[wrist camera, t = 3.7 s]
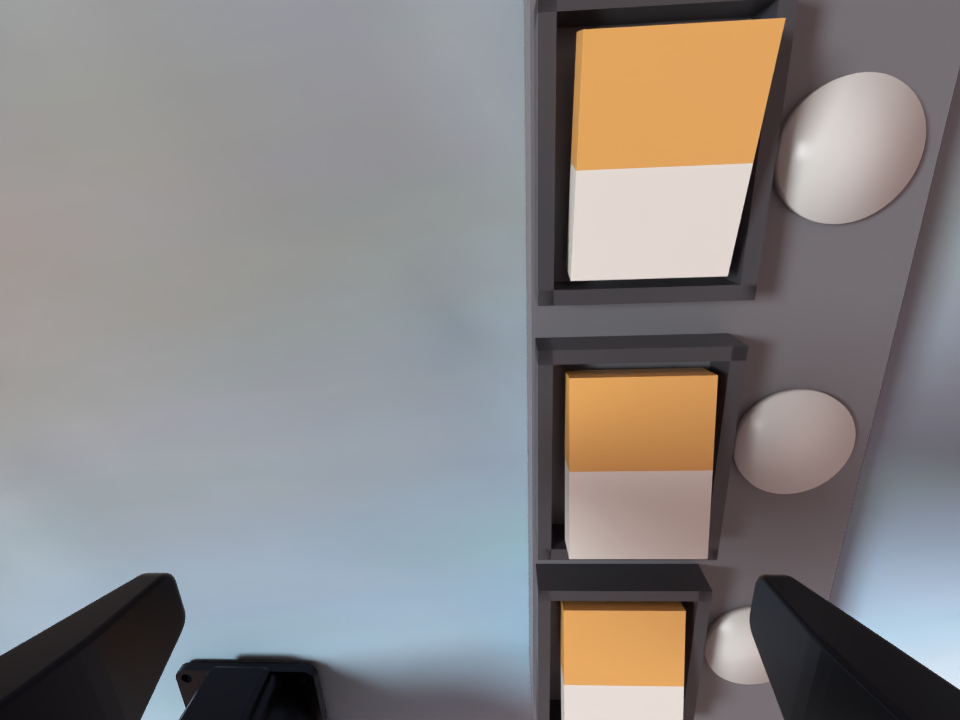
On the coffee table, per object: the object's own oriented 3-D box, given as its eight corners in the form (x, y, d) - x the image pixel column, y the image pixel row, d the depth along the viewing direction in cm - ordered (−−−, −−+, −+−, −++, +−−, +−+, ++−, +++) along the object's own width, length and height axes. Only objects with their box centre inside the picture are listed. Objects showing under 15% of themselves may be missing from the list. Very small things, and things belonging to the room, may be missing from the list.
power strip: (747, 716, 23) (798, 827, 19) (529, 713, 23) (535, 820, 19) (896, -45, 13) (1062, -143, 9) (524, -21, 14) (532, -105, 10)
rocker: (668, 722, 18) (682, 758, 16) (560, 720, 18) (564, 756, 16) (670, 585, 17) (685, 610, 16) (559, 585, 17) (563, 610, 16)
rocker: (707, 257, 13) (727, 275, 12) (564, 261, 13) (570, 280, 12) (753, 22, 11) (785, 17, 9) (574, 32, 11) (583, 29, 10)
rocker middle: (689, 532, 15) (707, 559, 14) (563, 533, 15) (569, 559, 14) (697, 364, 14) (717, 375, 13) (563, 367, 14) (569, 378, 13)
